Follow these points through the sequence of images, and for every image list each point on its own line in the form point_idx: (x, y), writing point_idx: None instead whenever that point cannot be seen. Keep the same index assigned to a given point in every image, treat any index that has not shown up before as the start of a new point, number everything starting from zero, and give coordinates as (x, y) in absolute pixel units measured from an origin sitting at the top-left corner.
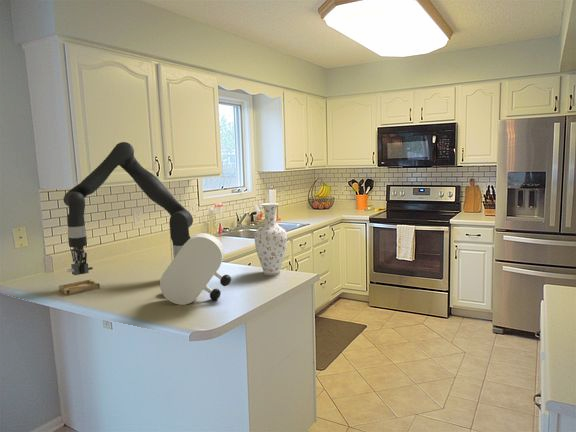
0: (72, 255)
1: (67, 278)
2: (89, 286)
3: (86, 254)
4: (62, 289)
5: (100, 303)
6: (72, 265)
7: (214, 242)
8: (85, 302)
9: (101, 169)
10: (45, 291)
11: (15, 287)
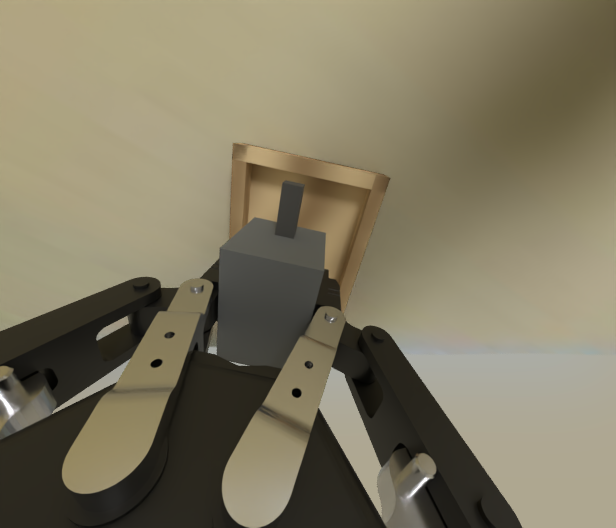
0: (80, 383)
1: (18, 152)
2: (369, 236)
3: (507, 507)
4: None
5: (580, 315)
6: (252, 360)
7: None
8: (494, 331)
9: None
10: None
11: None
